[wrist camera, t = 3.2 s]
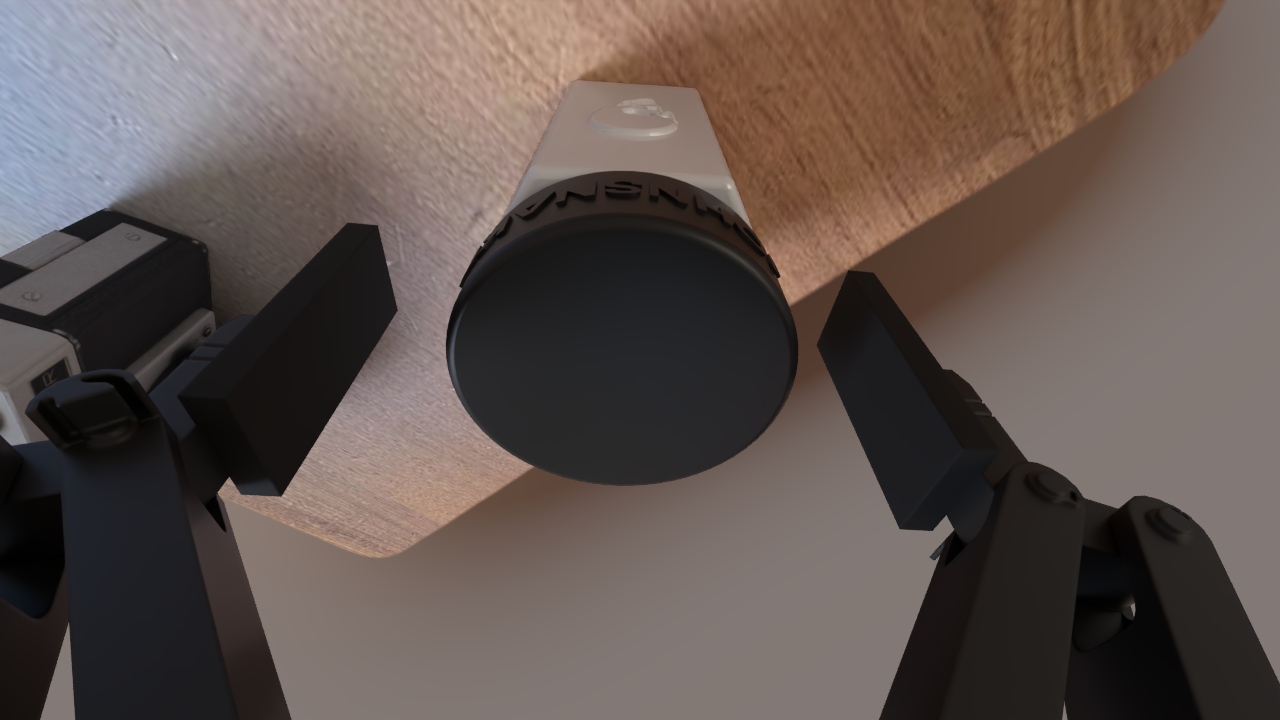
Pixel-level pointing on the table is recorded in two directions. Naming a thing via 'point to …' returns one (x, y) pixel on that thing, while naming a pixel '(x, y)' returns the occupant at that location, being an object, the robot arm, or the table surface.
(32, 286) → the camera
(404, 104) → the table surface
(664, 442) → the jar
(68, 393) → the robot arm
